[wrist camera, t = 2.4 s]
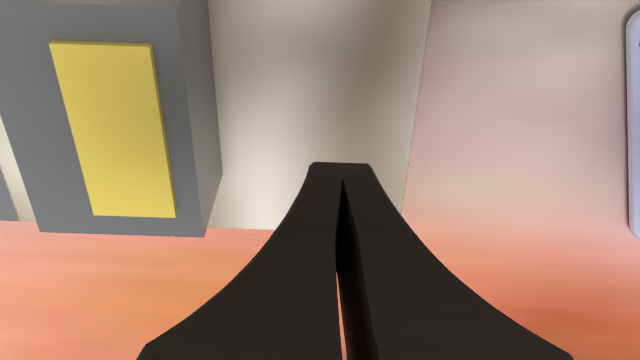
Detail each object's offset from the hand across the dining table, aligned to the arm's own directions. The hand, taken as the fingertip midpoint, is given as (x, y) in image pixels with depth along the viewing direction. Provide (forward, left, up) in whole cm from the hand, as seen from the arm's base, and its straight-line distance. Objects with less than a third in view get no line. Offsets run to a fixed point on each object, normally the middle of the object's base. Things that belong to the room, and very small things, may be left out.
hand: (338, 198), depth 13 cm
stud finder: (+2, +6, -6) cm, 9 cm away
